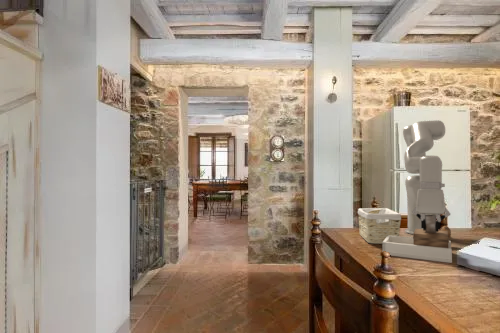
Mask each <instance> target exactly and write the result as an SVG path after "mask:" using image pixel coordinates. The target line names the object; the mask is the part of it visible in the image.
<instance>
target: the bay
mask: <svg viewBox="0 0 500 333" xmlns="http://www.w3.org/2000/svg"><path fill="white" fill-rule="evenodd" d="M381 245H382V252H383V251H386V252H389V253H390V255H391V256H393V257H399V258H400V257H401V258H408V259H418V260H425V261H433V262H440V263H441V262H442V263H447V264H450V263H451V264H452V263H453V252H452V251H453V250H452V242H451V240H449V243H448V248H441V247H431V246H421V245H414V239H413V236H412V237H411V236H401V235H399V236H390V235H388V236H387V237H386V238H385V240H384V241H383V242H382V244H381ZM390 255H389V256H390Z"/></svg>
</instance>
